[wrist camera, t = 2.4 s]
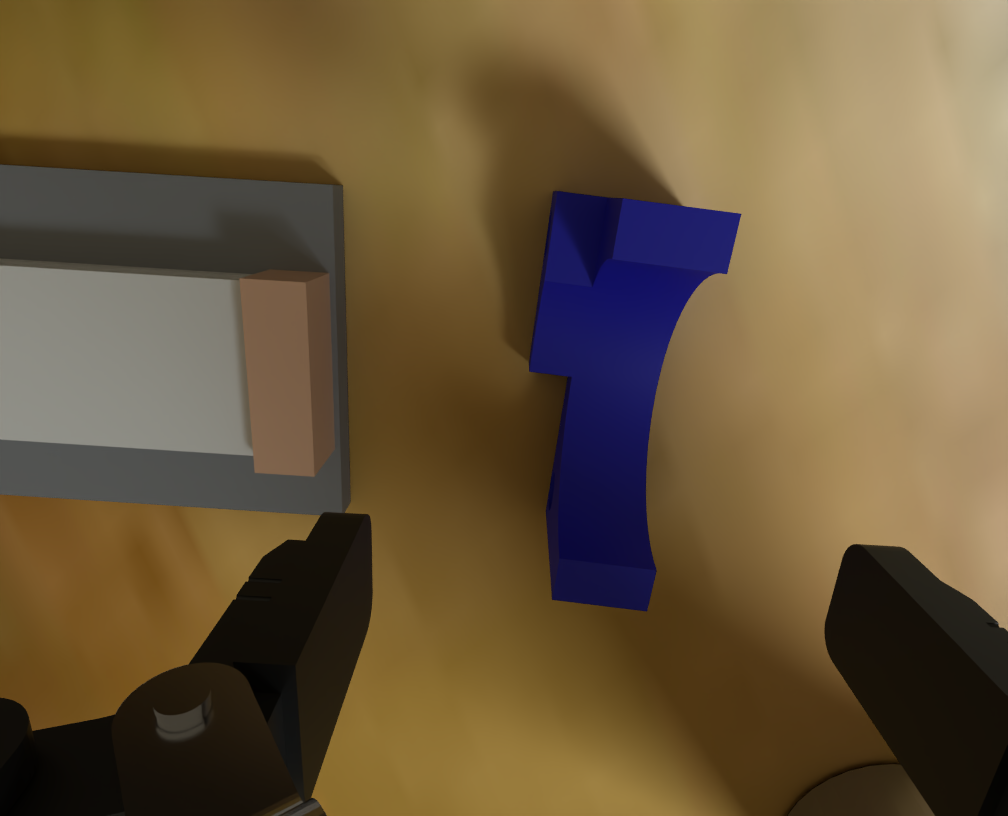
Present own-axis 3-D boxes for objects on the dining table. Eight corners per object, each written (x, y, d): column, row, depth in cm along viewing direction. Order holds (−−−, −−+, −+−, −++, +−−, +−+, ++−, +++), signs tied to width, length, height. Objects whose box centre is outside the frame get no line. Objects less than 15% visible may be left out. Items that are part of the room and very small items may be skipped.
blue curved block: (552, 191, 21) (563, 190, 16) (683, 208, 21) (741, 214, 16) (508, 503, 25) (504, 593, 20) (619, 517, 25) (647, 611, 20)
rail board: (342, 185, 21) (308, 184, 18) (350, 502, 25) (323, 550, 22) (-182, 153, 21) (-316, 145, 18) (-94, 472, 25) (-190, 516, 22)
